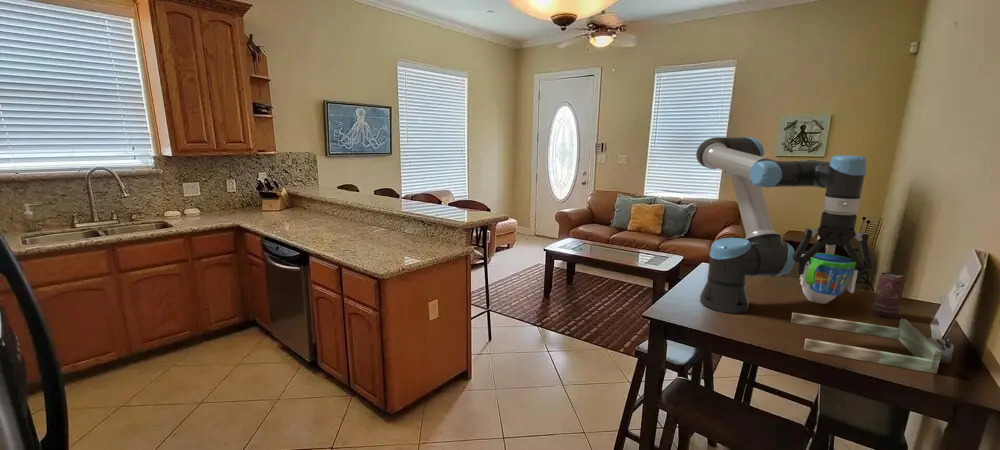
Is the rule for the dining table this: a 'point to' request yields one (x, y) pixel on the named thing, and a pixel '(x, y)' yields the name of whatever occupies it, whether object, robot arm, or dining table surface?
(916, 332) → the bay
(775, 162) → the robot arm
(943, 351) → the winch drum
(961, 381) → the dining table surface
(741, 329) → the dining table surface
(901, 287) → the can
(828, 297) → the lidded jar
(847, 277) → the snack cup
